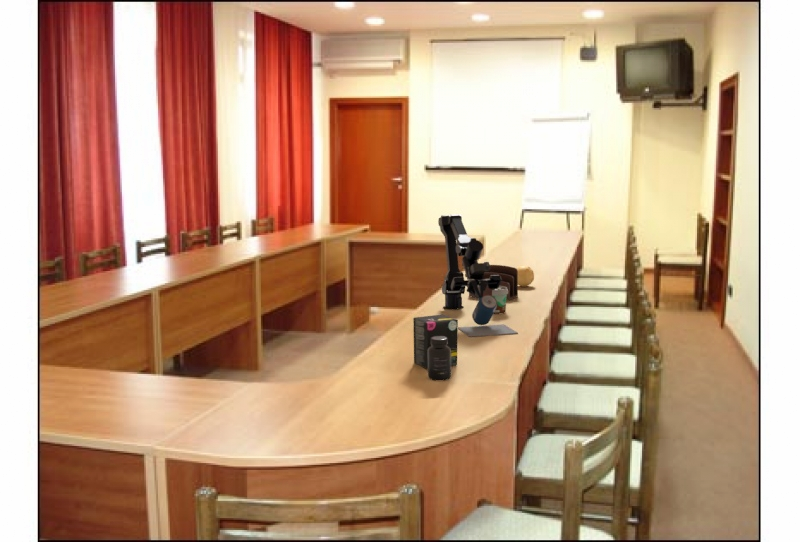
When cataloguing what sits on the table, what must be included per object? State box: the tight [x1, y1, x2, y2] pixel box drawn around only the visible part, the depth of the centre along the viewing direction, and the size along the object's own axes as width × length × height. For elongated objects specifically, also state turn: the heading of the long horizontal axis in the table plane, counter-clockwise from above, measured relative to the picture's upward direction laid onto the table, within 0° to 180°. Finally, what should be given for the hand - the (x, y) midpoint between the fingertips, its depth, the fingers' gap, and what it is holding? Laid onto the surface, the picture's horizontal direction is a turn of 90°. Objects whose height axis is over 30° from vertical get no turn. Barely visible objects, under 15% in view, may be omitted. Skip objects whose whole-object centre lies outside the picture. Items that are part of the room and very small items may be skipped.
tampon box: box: [412, 314, 459, 371], centre depth 236 cm, size 11×9×15 cm
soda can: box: [471, 295, 497, 326], centre depth 283 cm, size 7×7×12 cm
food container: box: [492, 286, 508, 315], centre depth 311 cm, size 12×6×10 cm, turn 168°
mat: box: [458, 323, 519, 338], centre depth 279 cm, size 14×18×1 cm
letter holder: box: [468, 264, 519, 301], centre depth 344 cm, size 10×20×14 cm, turn 59°
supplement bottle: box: [427, 336, 452, 381], centre depth 222 cm, size 7×7×12 cm
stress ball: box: [516, 265, 535, 288], centre depth 368 cm, size 10×10×10 cm
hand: (481, 300), depth 285 cm, fingers closed
